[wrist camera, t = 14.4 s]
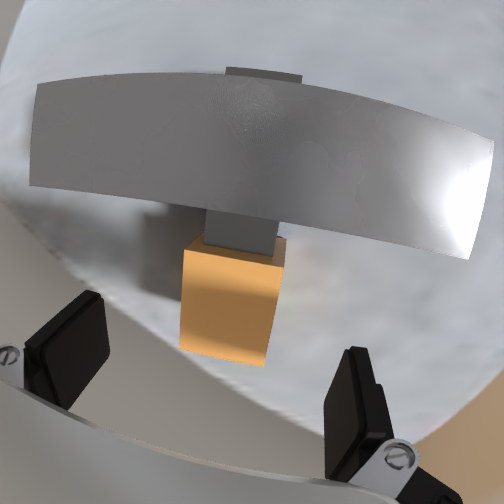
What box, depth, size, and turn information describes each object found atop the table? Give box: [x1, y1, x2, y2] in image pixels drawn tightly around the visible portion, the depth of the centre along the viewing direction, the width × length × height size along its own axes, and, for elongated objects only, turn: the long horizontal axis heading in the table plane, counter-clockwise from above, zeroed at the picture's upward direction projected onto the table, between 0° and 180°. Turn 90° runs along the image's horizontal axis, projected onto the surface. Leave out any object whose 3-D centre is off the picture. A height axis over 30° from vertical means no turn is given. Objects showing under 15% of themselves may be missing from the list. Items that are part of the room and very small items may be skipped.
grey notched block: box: [30, 73, 494, 260], centre depth 12 cm, size 4×16×6 cm, turn 82°
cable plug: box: [179, 67, 302, 367], centre depth 14 cm, size 12×4×4 cm, turn 172°
